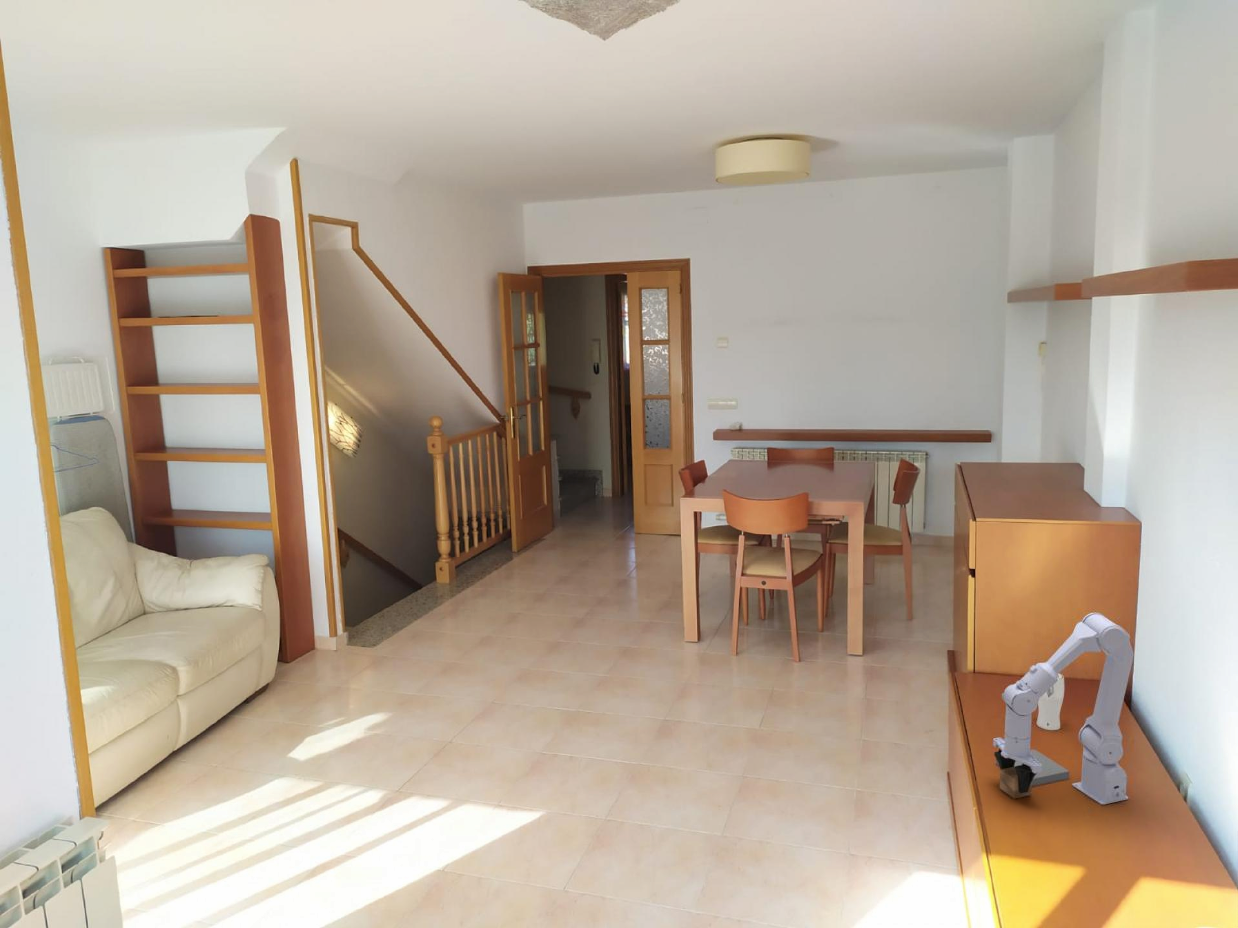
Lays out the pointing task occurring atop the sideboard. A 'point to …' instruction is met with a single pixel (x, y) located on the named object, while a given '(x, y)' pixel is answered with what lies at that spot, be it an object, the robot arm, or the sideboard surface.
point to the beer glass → (1051, 706)
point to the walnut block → (1011, 783)
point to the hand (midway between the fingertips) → (1015, 785)
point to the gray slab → (1046, 770)
